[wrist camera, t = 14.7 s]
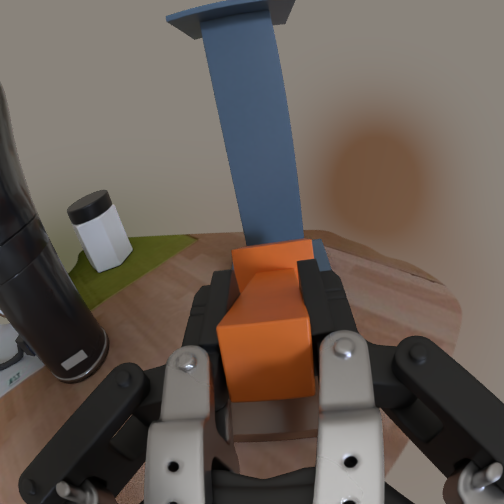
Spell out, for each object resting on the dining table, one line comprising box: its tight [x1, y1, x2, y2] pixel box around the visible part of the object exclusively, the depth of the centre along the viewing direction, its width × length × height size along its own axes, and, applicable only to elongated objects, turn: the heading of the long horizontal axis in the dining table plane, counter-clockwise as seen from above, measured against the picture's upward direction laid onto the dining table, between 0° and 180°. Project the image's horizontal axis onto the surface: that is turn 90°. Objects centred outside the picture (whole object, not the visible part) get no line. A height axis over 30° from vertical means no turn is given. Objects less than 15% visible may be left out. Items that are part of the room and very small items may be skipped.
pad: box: [231, 376, 319, 442], centre depth 22 cm, size 9×12×2 cm
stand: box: [166, 0, 332, 271], centre depth 26 cm, size 12×11×30 cm
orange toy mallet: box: [216, 238, 316, 403], centre depth 15 cm, size 5×16×4 cm
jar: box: [67, 190, 133, 273], centre depth 44 cm, size 9×8×12 cm
